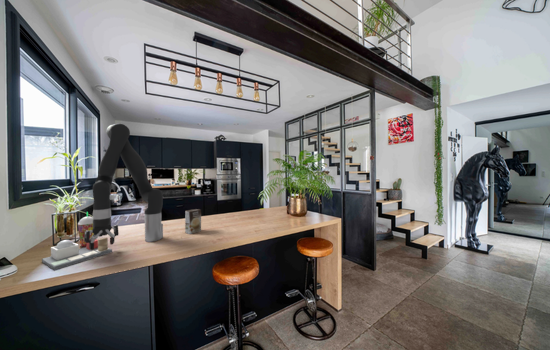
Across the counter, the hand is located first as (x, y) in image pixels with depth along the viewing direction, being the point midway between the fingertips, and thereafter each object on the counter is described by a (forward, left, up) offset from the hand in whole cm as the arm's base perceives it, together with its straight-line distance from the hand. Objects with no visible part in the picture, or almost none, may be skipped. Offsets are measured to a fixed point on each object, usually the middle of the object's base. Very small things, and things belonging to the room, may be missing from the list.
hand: (102, 246), depth 107 cm
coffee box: (-49, +13, -4) cm, 51 cm away
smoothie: (-2, -23, -4) cm, 23 cm away
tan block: (0, 0, -2) cm, 2 cm away
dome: (+12, -9, 0) cm, 15 cm away
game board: (+8, -5, -4) cm, 10 cm away
